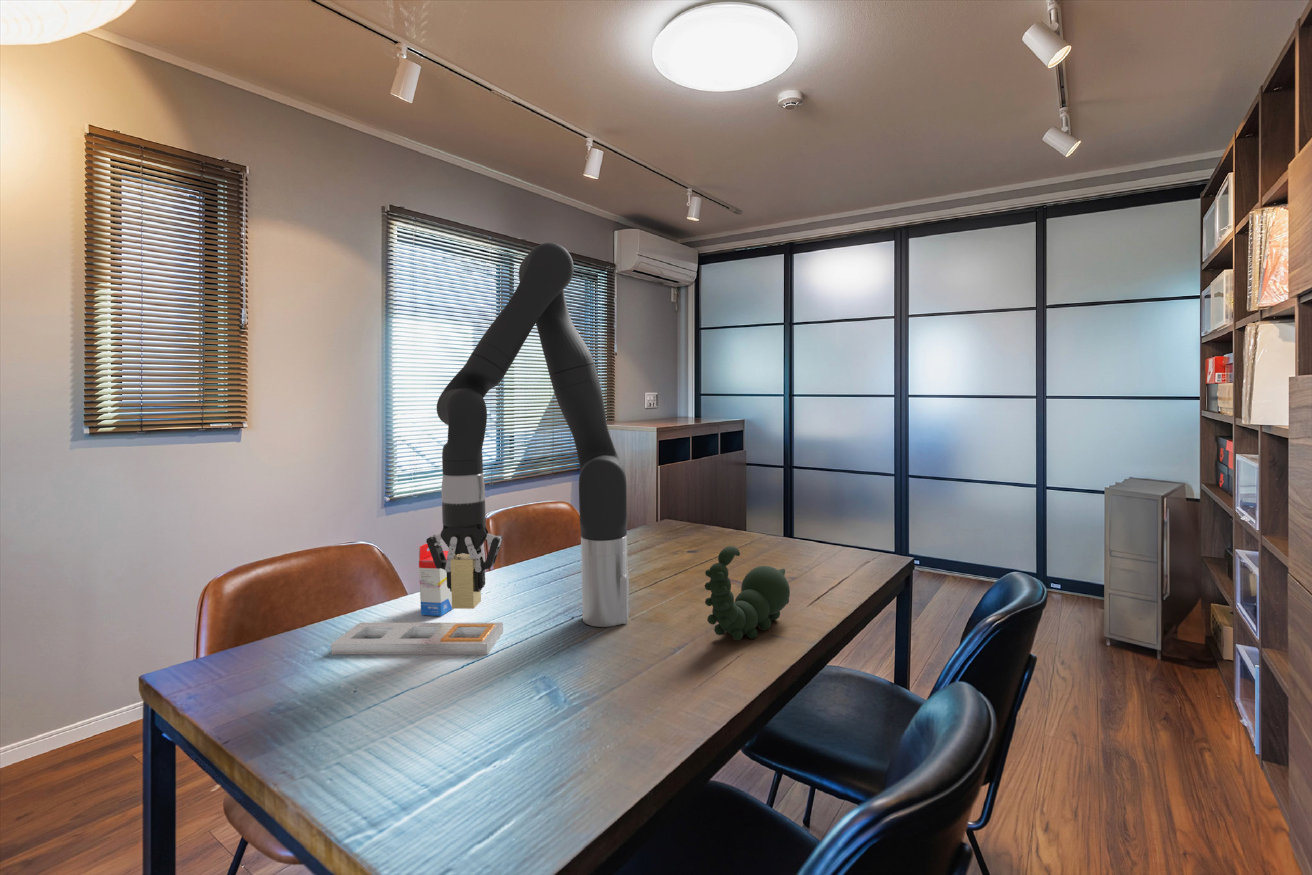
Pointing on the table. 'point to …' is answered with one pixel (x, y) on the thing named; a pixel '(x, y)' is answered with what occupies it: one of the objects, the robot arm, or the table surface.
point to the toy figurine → (745, 597)
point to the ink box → (433, 585)
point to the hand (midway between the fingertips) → (466, 590)
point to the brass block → (463, 583)
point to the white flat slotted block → (400, 641)
